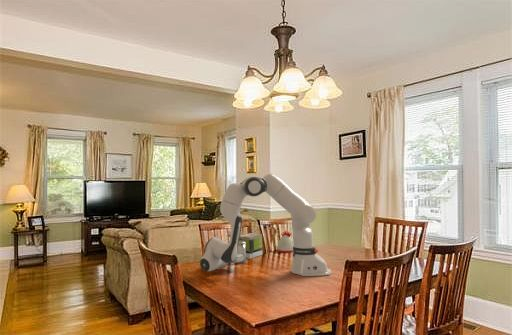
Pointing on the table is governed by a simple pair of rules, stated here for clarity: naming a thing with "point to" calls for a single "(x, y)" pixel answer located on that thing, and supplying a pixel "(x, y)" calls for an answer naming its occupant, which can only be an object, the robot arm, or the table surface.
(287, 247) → the kitchen timer
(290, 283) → the table surface
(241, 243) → the french press
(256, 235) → the tea box
